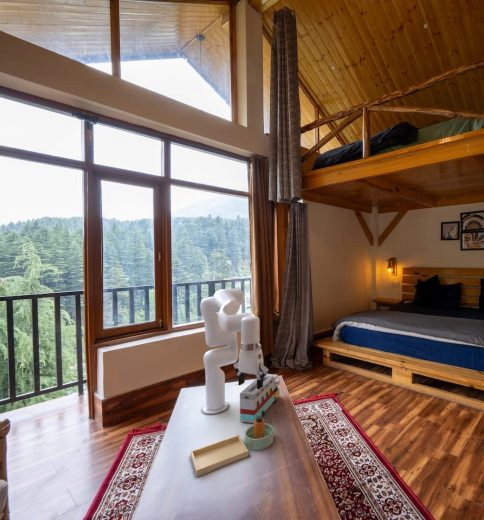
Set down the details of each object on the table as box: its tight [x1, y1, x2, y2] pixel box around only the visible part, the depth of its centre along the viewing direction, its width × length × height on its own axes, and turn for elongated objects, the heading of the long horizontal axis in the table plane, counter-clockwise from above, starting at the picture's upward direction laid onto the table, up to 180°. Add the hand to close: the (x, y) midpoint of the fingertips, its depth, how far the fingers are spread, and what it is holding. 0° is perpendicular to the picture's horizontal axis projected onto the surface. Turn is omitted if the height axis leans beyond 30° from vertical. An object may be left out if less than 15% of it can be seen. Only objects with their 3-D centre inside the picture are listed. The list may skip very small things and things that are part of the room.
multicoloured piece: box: [239, 373, 281, 424], centre depth 159 cm, size 8×30×15 cm, turn 168°
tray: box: [190, 434, 249, 478], centre depth 121 cm, size 13×19×2 cm
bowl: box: [244, 422, 274, 451], centre depth 130 cm, size 12×12×5 cm
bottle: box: [253, 415, 265, 439], centre depth 130 cm, size 4×4×11 cm
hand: (250, 386), depth 126 cm, fingers open, 9 cm apart
